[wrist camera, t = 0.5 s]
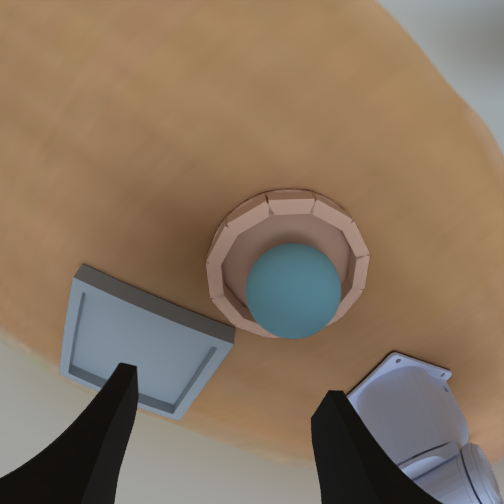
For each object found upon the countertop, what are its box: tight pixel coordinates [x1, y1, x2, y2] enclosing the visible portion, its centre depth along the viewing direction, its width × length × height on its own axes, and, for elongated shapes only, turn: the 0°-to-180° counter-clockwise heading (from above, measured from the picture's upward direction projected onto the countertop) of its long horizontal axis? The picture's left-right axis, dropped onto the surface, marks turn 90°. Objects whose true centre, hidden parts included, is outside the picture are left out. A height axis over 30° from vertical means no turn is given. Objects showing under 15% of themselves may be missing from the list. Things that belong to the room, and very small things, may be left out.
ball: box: [245, 243, 341, 339], centre depth 17 cm, size 5×5×5 cm
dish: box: [206, 189, 370, 338], centre depth 19 cm, size 9×9×2 cm
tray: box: [59, 264, 234, 421], centre depth 22 cm, size 11×11×2 cm
